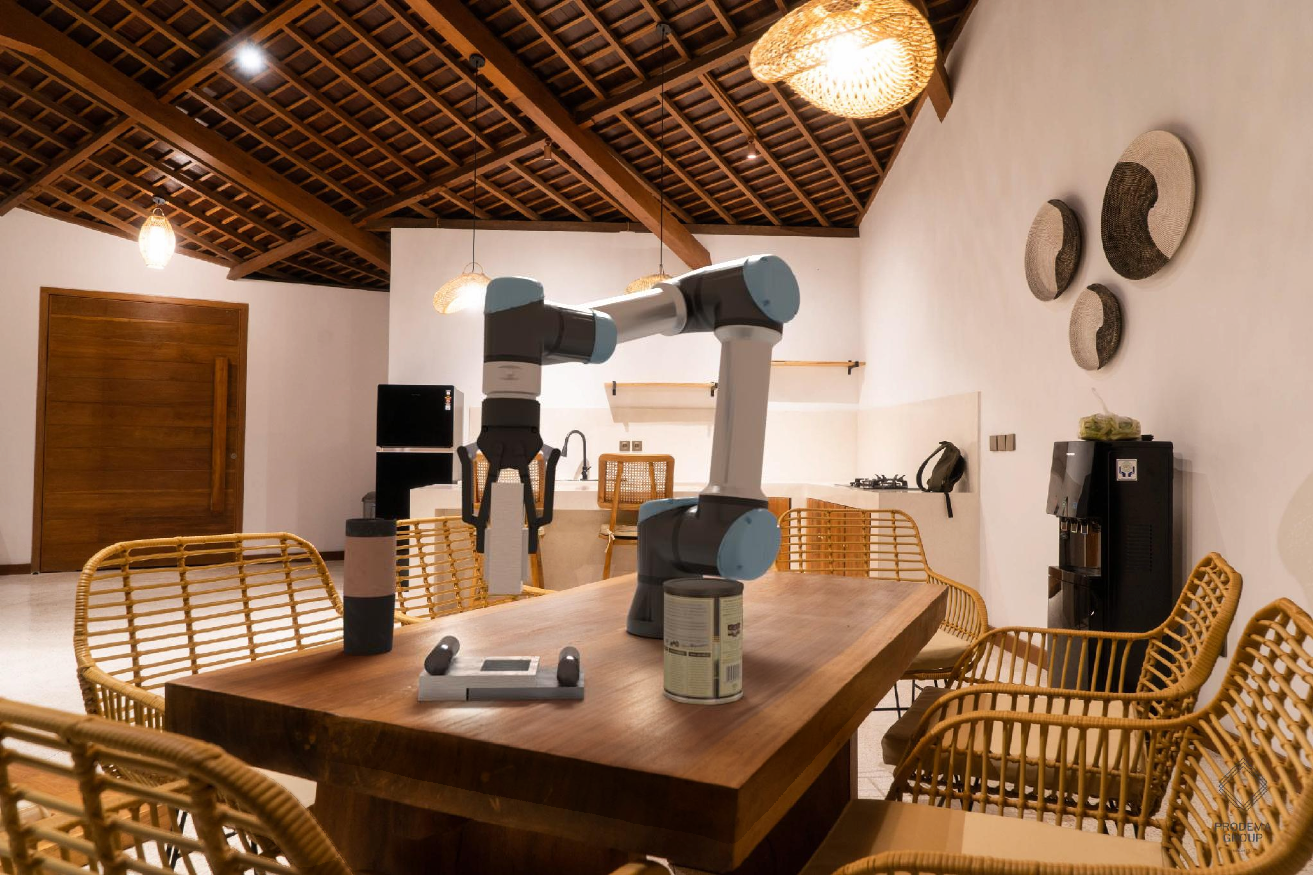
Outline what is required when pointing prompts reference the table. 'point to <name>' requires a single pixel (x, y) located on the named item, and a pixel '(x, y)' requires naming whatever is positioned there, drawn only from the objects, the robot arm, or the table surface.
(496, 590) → the pin
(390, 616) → the travel mug
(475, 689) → the base with two rollers
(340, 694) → the table surface
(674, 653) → the coffee can
